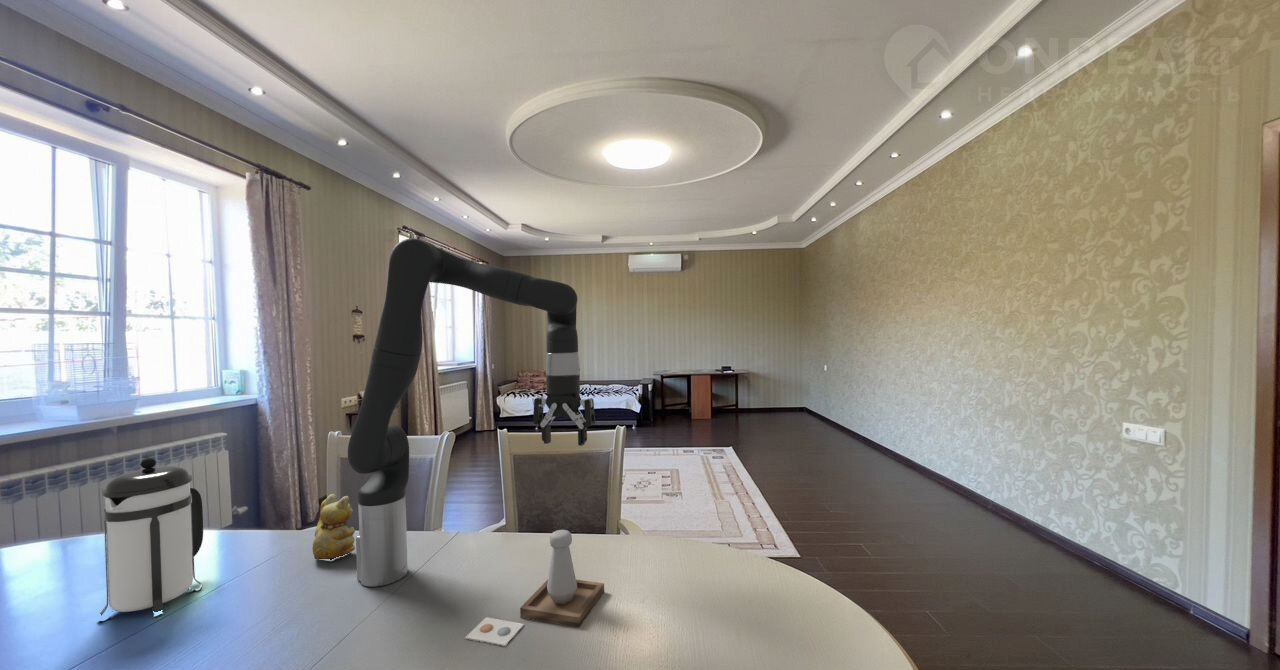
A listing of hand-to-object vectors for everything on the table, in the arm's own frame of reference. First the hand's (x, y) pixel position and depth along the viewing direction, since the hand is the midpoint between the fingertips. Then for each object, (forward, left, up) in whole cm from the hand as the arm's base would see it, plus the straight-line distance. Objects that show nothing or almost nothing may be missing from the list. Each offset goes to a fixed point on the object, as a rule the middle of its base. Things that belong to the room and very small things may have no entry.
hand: (564, 444), depth 108 cm
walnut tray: (+6, -14, -28) cm, 32 cm away
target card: (-2, -25, -28) cm, 38 cm away
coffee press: (-77, -34, -28) cm, 89 cm away
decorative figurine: (-58, -10, -28) cm, 65 cm away
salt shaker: (+6, -14, -27) cm, 31 cm away
